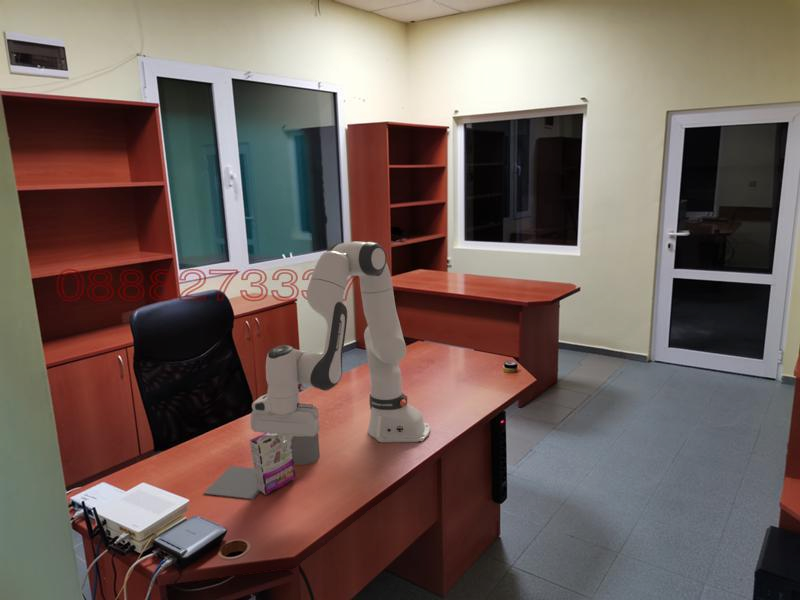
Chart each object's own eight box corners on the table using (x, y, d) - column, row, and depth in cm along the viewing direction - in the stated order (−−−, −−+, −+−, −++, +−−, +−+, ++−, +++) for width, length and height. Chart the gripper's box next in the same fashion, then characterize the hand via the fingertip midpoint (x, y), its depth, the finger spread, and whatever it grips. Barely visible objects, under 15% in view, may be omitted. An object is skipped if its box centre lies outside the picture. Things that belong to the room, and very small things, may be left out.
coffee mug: (307, 467, 180) (305, 438, 178) (283, 460, 185) (280, 432, 182) (331, 449, 191) (329, 422, 189) (308, 443, 196) (306, 416, 194)
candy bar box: (286, 473, 175) (280, 425, 171) (296, 478, 172) (290, 429, 168) (255, 490, 167) (248, 439, 163) (265, 495, 164) (258, 444, 160)
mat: (277, 471, 178) (276, 470, 178) (253, 499, 163) (253, 498, 163) (231, 467, 181) (230, 466, 181) (203, 494, 166) (203, 493, 166)
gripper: (321, 400, 163) (323, 444, 166) (256, 395, 167) (259, 439, 170) (313, 409, 157) (316, 454, 160) (246, 404, 161) (249, 448, 164)
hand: (286, 446), depth 165 cm, fingers closed
